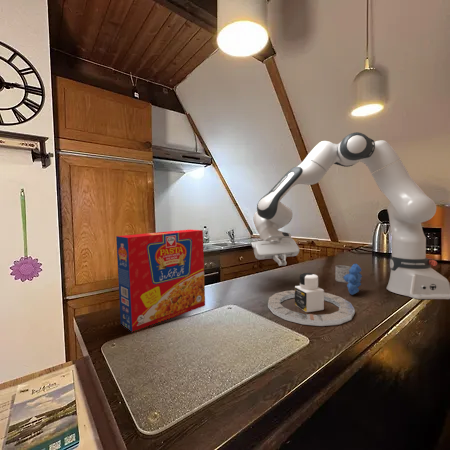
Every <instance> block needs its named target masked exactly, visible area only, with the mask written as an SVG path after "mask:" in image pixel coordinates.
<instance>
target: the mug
mask: <svg viewBox="0 0 450 450" xmlns="http://www.w3.org/2000/svg"><path fill="white" fill-rule="evenodd" d="M350 268H351V266H349V265H340V264H337V265H335V275H334V276H335V277H334V278H335V281H336V282H339V283H346V284H348V282H346V281H345V280H344V278H343V277H344V276H345V275H346V274H349V273H350V272H349V269H350Z"/></svg>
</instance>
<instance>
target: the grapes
mask: <svg viewBox="0 0 450 450" xmlns="http://www.w3.org/2000/svg"><path fill="white" fill-rule="evenodd" d="M350 267H351V268H350V269H349V272H350V273H349V274H346V275H345V276H344V277H343V278H344V280H345V281H346V282H347V283H346V287H347V291H348V293H349V294H350V295H352V296H353V295H355V294H357V293H359V291H360V289H359V287H360V286H361V285H362V283H361V281H362V277H363V275H362V274H361V272H362V268H361V267H360V265H358V264H357V263H353V264H352V265H351V266H350Z"/></svg>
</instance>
